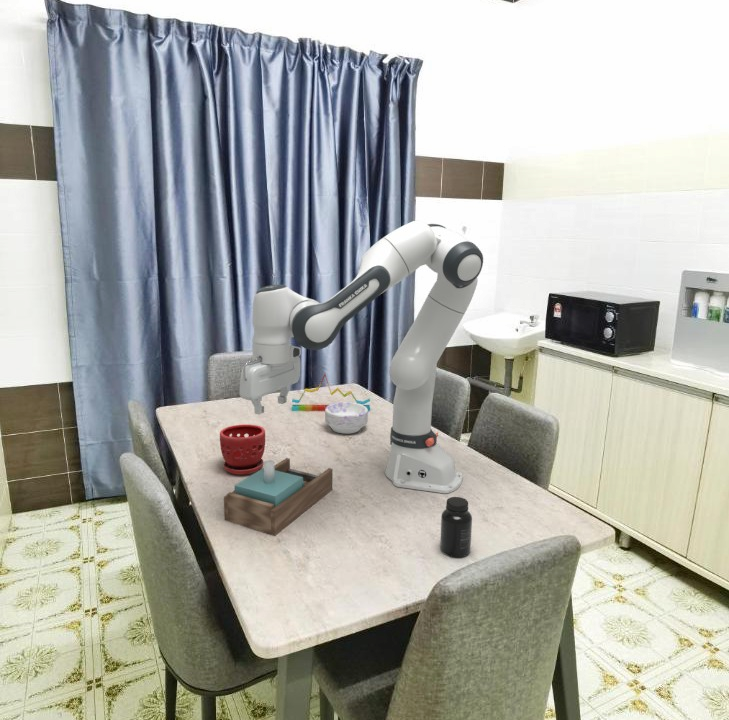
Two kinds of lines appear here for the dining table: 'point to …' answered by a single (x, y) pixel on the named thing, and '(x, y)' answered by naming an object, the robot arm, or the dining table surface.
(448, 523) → the supplement bottle
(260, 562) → the dining table surface
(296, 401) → the chart
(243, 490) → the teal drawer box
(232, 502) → the bay
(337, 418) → the paper bowls
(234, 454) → the plant pot
